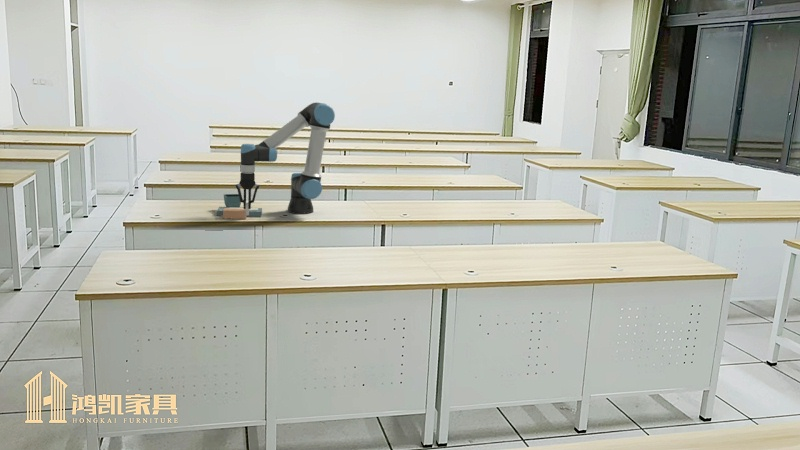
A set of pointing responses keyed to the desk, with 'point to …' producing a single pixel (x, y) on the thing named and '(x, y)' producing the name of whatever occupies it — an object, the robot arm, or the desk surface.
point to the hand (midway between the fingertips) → (247, 214)
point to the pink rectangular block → (234, 213)
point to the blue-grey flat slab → (252, 212)
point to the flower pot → (232, 200)
